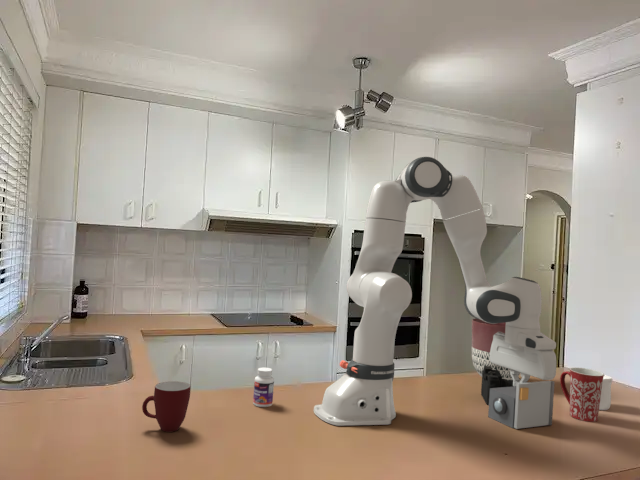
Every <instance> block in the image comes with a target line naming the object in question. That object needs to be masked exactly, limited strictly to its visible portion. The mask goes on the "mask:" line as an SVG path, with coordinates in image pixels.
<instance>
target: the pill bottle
mask: <svg viewBox="0 0 640 480" xmlns="http://www.w3.org/2000/svg"><path fill="white" fill-rule="evenodd" d="M272 375H273V368H270V367H258V368H257V376H255V378H254V382H253V383H254V385H253V397H252V399H253V400H252V404H253V405H254V406H255V407H259V408H267V407H271V406H273V403H274V402H273V400H274V388H275V387H274V386H275V378H274V377H273V376H272Z"/></svg>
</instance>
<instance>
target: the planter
mask: <svg viewBox="0 0 640 480" xmlns="http://www.w3.org/2000/svg"><path fill="white" fill-rule="evenodd" d="M505 327H506V322H505V323H496V324H491V323H487V322H485V321H482V320H480V319H476V318H472V319H471V359H472V365H473V367H474V369H475V371H476V372H477V373H478V375H479V376H480V378H482V371H483V369H484V367H486V366H491V368H493V369H492V370H496V369H497V370H498V371H499V372H500V374H501V376H502V379H507V380H513V379H512V377H511V374H510V369H508V368H505V367H502V366H499V365H496V364H493V363H491V361H490V350H491V345H492V341H493V336H494V334H495V333H497V332H502V333H505ZM496 335H497V334H496ZM518 376H519V377H520V376H521V372H520V373H519V374H518Z"/></svg>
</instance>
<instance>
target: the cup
mask: <svg viewBox="0 0 640 480" xmlns="http://www.w3.org/2000/svg"><path fill="white" fill-rule="evenodd" d="M612 383H613V377H611V376H609V375H606V374H604V377H603V383H602V390H601V398H600V405H599V411H607V410H609V409H610V407H611V405H612Z"/></svg>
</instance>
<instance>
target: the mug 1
mask: <svg viewBox="0 0 640 480" xmlns="http://www.w3.org/2000/svg"><path fill="white" fill-rule="evenodd" d="M190 397H191V384H189V383H187V382H185V381H177V380H175V381H173V380H172V381H171V380H170V381H164V382H163V381H162V382H159V383H157V384H155V386H154V393H153V395H149V396H147V397H146V398H145V399H144V401H143V402H142V407H141V409H142V413H143V414H144V416H146V417H148V418H151V419H156V422H157V424H158V425H159V427H160V430H161V431H163V432H167V433H168V432H169V433H170V432H171V433H173V432H176V431H179V429H180V428H181V426H182V424H183V423H184V420H185V418H186V415H187V412H188V411H187V410H188V407H189V402H190V399H191V398H190ZM149 402H153V403H154V409H155V410H154V411H155V414H153V413H150V412H149V411H148V407H147V406H148V403H149Z"/></svg>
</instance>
